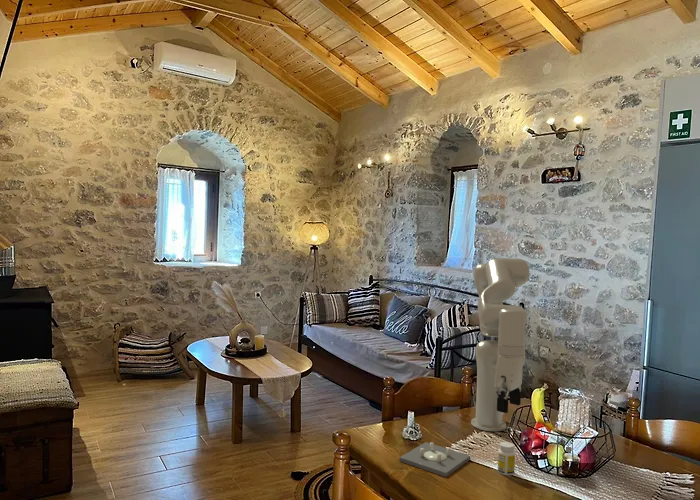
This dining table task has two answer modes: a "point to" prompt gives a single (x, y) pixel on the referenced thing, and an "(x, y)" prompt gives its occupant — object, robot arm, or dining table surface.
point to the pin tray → (435, 459)
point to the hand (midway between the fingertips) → (508, 408)
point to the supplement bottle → (506, 458)
